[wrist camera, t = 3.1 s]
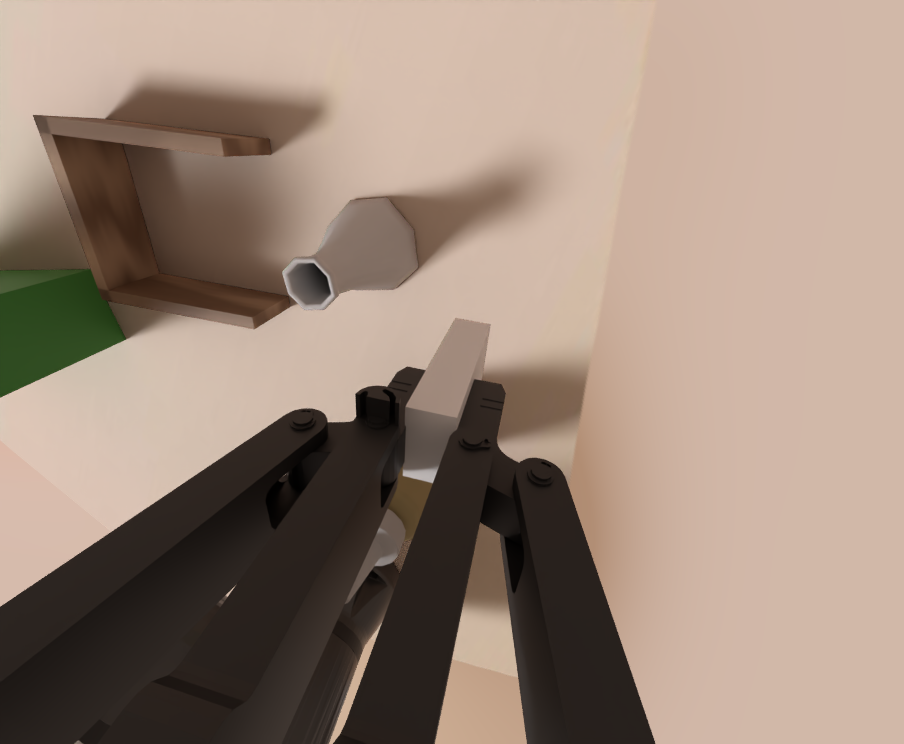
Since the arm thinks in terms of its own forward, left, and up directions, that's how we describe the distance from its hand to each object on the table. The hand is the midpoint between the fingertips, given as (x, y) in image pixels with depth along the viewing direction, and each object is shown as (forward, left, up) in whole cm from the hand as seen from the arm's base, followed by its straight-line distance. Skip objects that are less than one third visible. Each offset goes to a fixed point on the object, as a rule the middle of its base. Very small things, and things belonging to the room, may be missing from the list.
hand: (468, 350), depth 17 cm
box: (0, +25, -15) cm, 29 cm away
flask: (0, +10, -15) cm, 18 cm away
